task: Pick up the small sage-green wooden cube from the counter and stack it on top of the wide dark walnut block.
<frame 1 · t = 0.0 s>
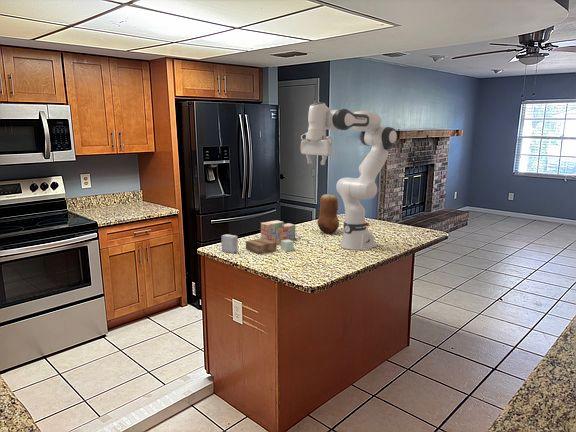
hand: (316, 164, 211), 48 cm above the countertop, tool pointing down, fingers open, 8 cm apart
medicine box: (229, 251, 228), on the countertop
walnut block: (261, 250, 231), on the countertop
sage cube: (287, 249, 232), on the countertop
butternut squash: (327, 233, 272), on the countertop
stack of blocks: (278, 241, 249), on the countertop
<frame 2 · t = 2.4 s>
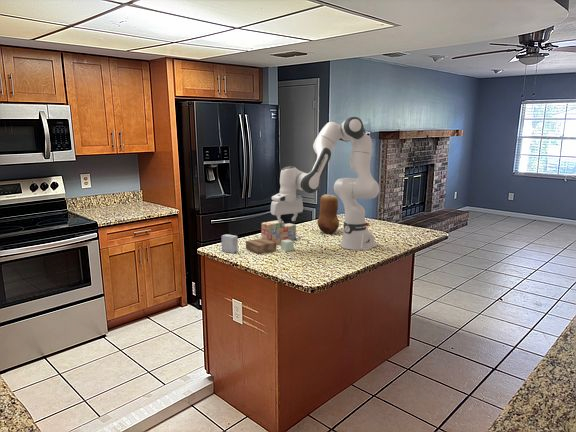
hand: (287, 221, 229), 16 cm above the countertop, tool pointing down, fingers open, 8 cm apart
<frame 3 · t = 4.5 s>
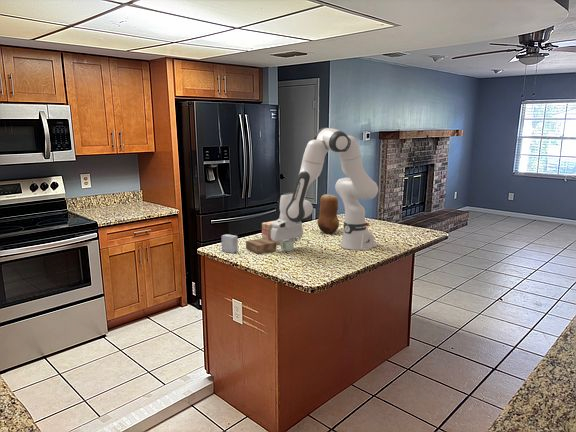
hand: (287, 246, 232), 2 cm above the countertop, tool pointing down, fingers closed on sage cube, 5 cm apart
sage cube: (287, 249, 232), on the countertop, touching gripper
everything else where it was.
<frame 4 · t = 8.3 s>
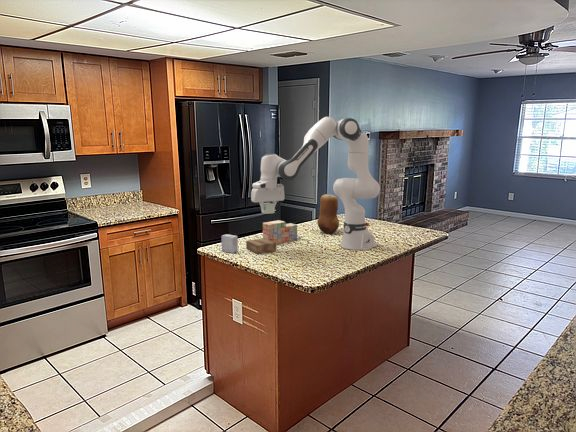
hand: (268, 209, 227), 22 cm above the countertop, tool pointing down, fingers closed on sage cube, 5 cm apart
sage cube: (268, 212, 227), point 21 cm above the countertop, touching gripper
when the fingers open (8 cm above the countertop, at t = 12.0 s): sage cube drops 2 cm, resting on walnut block.
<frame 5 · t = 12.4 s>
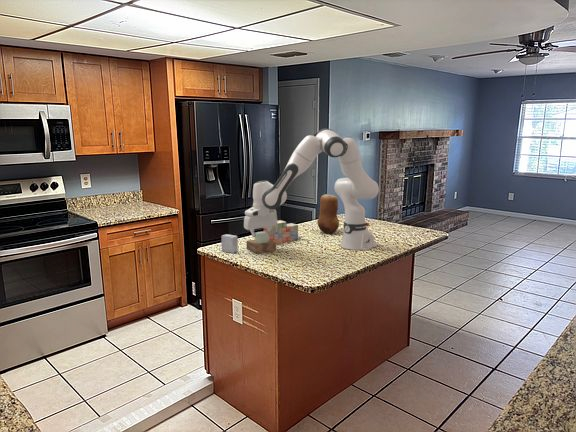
hand: (261, 235, 229), 8 cm above the countertop, tool pointing down, fingers open, 8 cm apart
walnut block: (260, 250, 231), on the countertop, touching sage cube
sage cube: (261, 241, 230), point 5 cm above the countertop, touching walnut block
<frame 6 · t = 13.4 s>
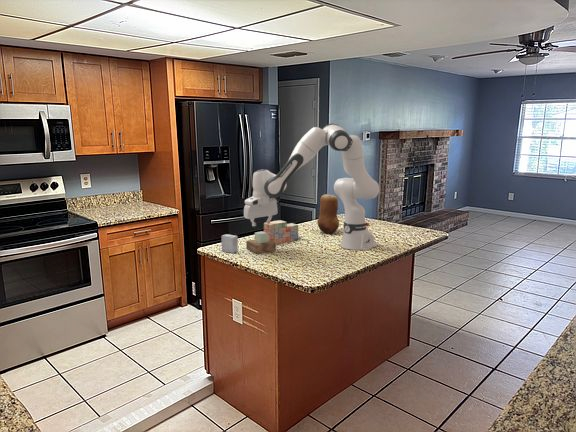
hand: (261, 224, 229), 14 cm above the countertop, tool pointing down, fingers open, 8 cm apart
walnut block: (260, 250, 231), on the countertop
sage cube: (261, 241, 230), point 5 cm above the countertop
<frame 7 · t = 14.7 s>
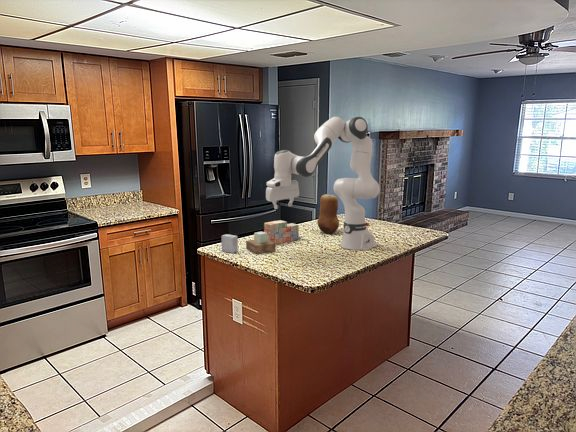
hand: (283, 207, 223), 24 cm above the countertop, tool pointing down, fingers open, 8 cm apart
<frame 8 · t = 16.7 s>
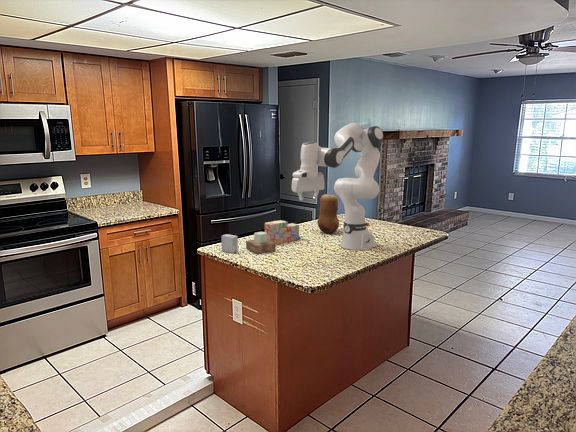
hand: (308, 199, 220), 29 cm above the countertop, tool pointing down, fingers open, 8 cm apart
walnut block: (260, 250, 231), on the countertop, touching sage cube
sage cube: (260, 242, 230), point 5 cm above the countertop, touching walnut block
at the end: sage cube inside the target area on the walnut block (0.3 cm from its centre), point 5.0 cm above the walnut block's base; sage cube tilted 0°; the gripper is holding nothing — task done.
